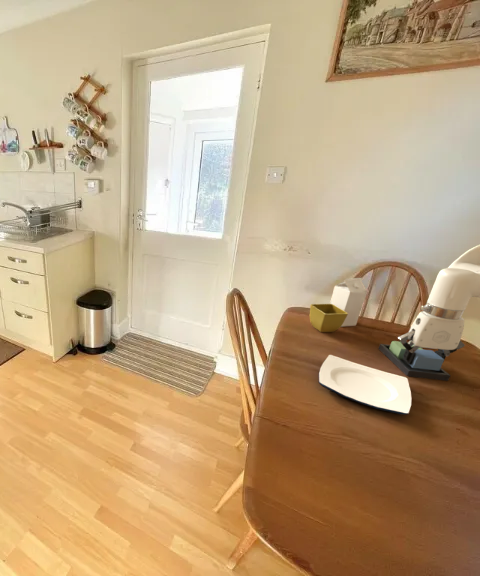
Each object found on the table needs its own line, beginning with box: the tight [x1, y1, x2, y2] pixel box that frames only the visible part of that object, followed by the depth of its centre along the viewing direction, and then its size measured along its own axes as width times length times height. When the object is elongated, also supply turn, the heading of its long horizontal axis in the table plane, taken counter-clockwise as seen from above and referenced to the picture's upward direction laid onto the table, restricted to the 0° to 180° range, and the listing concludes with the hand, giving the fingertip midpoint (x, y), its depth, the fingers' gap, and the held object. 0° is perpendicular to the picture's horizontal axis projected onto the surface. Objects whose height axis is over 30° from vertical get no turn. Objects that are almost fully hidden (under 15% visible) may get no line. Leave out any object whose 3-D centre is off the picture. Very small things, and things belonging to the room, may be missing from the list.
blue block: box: [409, 348, 445, 371], centre depth 96 cm, size 6×5×4 cm
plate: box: [318, 354, 412, 416], centre depth 90 cm, size 20×20×3 cm
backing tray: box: [378, 343, 451, 382], centre depth 100 cm, size 10×16×2 cm, turn 165°
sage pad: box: [389, 340, 425, 360], centre depth 103 cm, size 6×5×4 cm
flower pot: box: [308, 303, 348, 333], centre depth 120 cm, size 9×9×9 cm
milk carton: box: [329, 277, 368, 328], centre depth 123 cm, size 7×7×19 cm
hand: (421, 362), depth 96 cm, fingers closed on blue block, 6 cm apart
